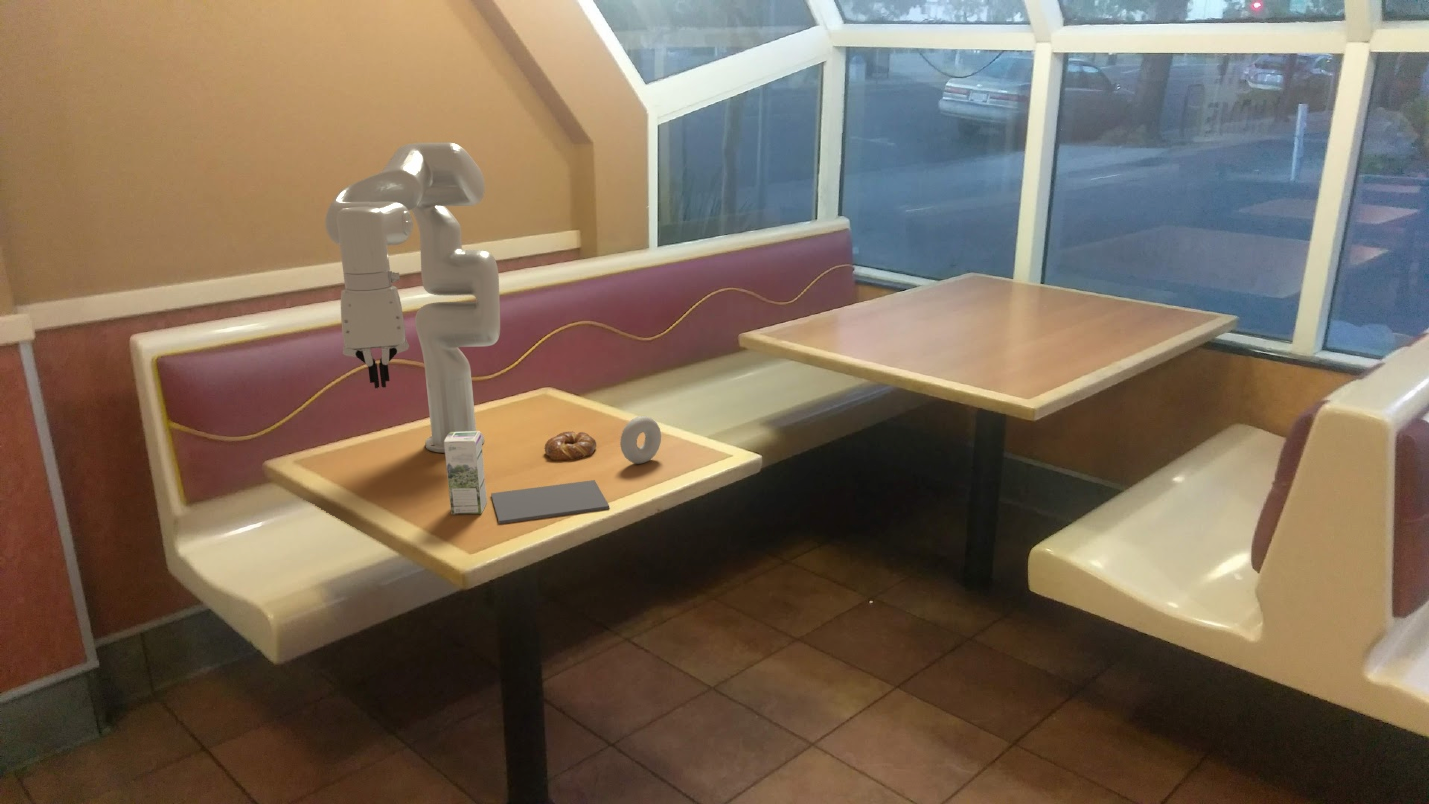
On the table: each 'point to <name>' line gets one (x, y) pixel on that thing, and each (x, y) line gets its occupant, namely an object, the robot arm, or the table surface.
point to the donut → (650, 443)
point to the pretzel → (570, 446)
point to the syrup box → (465, 472)
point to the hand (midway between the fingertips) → (380, 385)
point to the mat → (548, 501)
